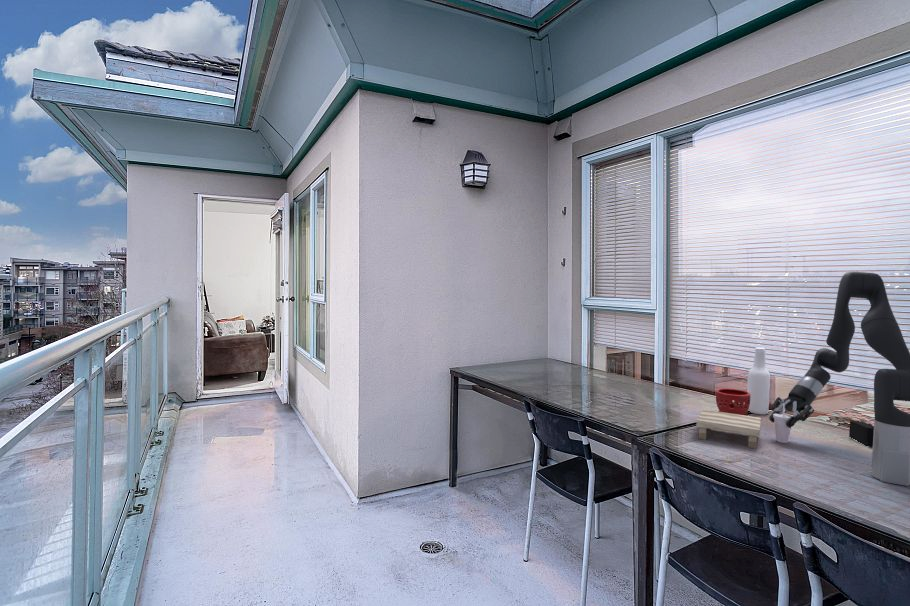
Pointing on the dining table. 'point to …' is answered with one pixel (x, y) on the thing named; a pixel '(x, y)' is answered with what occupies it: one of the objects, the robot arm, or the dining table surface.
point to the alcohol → (759, 384)
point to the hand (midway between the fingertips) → (779, 423)
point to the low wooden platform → (729, 424)
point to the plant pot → (726, 403)
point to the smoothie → (782, 426)
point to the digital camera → (862, 432)
